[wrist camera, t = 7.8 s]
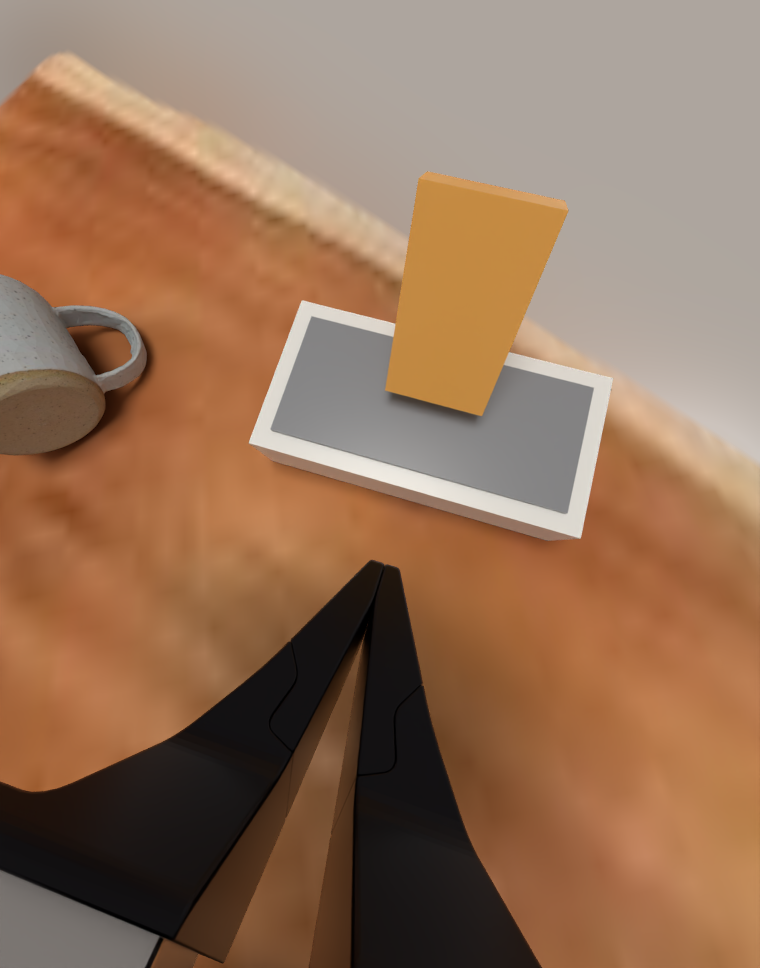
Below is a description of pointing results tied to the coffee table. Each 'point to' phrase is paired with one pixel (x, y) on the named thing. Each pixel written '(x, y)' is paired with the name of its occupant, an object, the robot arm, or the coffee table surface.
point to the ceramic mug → (52, 371)
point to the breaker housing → (435, 429)
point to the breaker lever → (467, 287)
